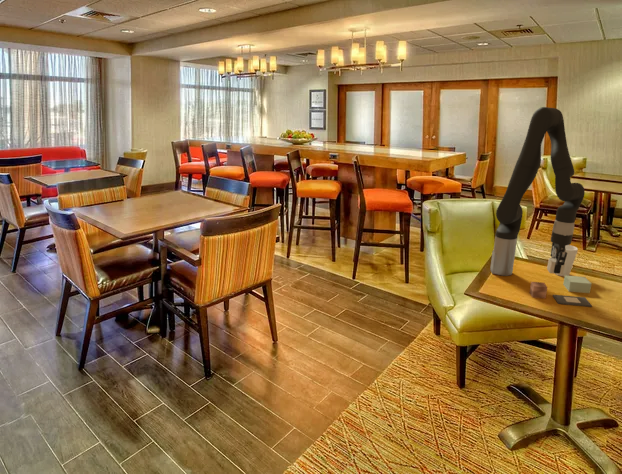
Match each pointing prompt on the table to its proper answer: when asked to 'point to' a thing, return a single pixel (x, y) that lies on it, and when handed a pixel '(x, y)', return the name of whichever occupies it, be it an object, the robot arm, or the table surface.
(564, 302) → the card
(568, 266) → the foam cup
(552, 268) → the cream cube
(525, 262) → the table surface
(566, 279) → the green block
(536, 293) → the terracotta cube
